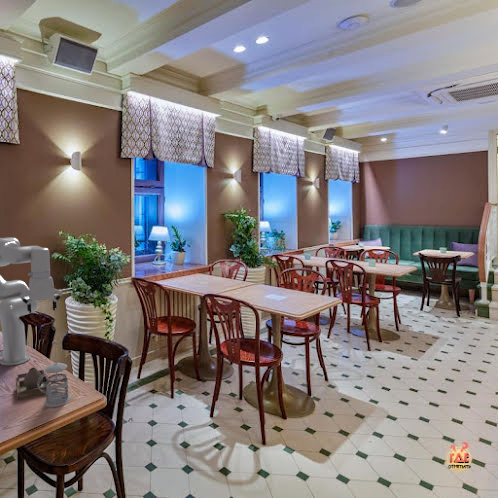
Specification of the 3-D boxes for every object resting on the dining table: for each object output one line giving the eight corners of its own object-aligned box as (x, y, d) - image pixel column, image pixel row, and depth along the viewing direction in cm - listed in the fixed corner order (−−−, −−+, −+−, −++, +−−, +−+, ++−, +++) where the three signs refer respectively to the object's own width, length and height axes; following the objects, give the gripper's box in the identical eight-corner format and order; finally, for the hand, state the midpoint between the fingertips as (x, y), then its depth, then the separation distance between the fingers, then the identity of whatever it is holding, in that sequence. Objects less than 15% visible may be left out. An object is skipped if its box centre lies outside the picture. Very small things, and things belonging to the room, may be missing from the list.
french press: (74, 401, 150) (71, 341, 147) (42, 411, 143) (38, 348, 140) (67, 391, 158) (64, 334, 155) (36, 401, 150) (32, 341, 147)
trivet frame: (17, 376, 171) (17, 374, 171) (43, 371, 176) (43, 369, 176) (17, 386, 162) (17, 384, 162) (45, 380, 167) (45, 378, 167)
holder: (17, 388, 161) (17, 381, 160) (48, 381, 167) (47, 375, 166) (17, 400, 151) (17, 393, 150) (50, 392, 157) (50, 385, 157)
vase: (34, 393, 155) (33, 373, 154) (20, 391, 156) (19, 371, 155) (46, 385, 162) (45, 366, 161) (32, 383, 163) (31, 364, 162)
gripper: (18, 277, 164) (20, 315, 166) (62, 275, 173) (63, 311, 175) (18, 274, 170) (20, 311, 173) (61, 272, 179) (62, 306, 182)
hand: (42, 311), depth 174 cm, fingers open, 9 cm apart
